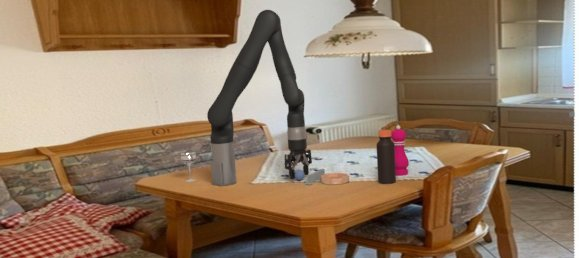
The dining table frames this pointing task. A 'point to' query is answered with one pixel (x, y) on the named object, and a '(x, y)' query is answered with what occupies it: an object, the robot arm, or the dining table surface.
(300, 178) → the ball
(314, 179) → the fence
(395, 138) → the pepper mill
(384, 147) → the bottle
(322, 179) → the bowl
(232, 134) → the robot arm
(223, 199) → the dining table surface
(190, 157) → the wineglass
